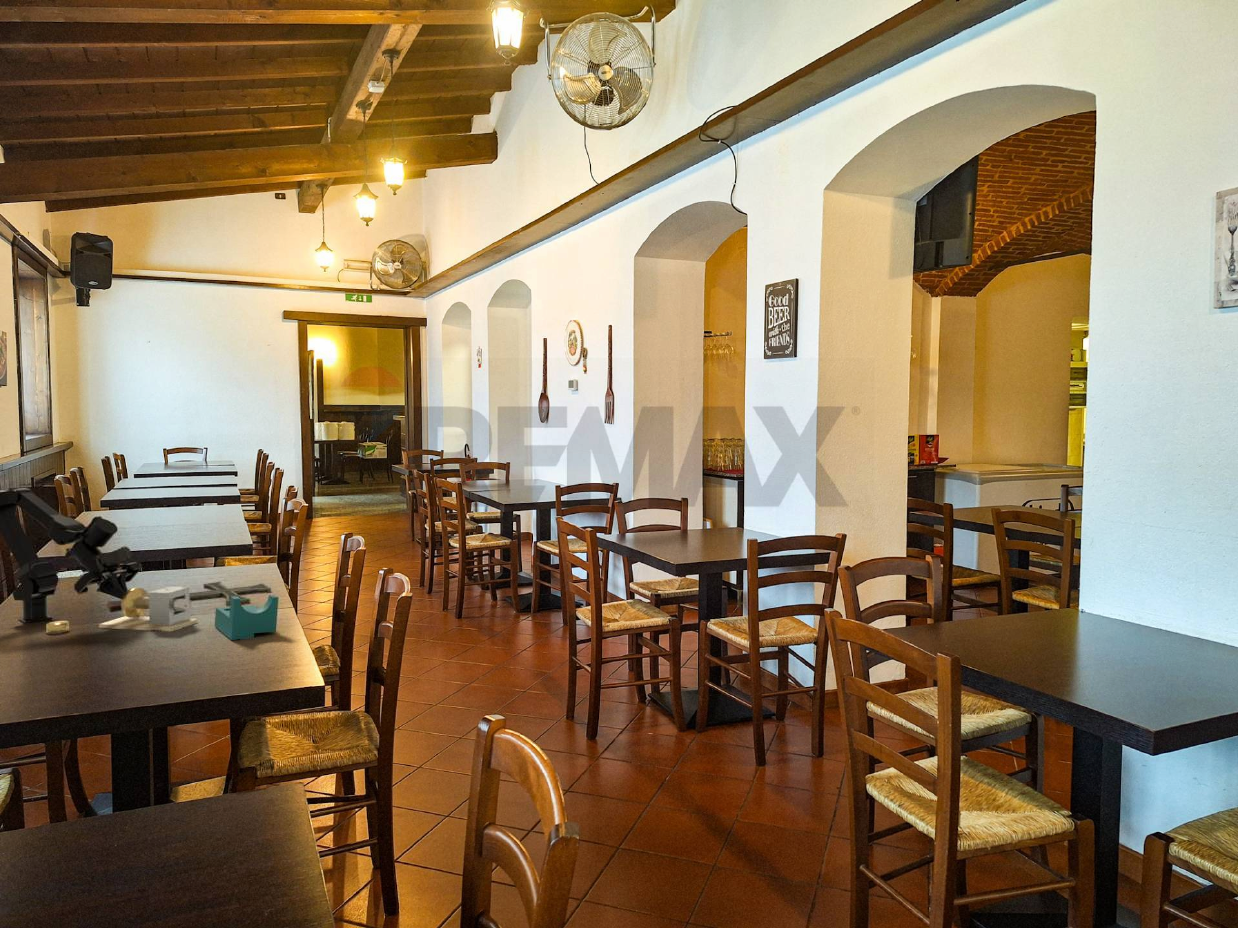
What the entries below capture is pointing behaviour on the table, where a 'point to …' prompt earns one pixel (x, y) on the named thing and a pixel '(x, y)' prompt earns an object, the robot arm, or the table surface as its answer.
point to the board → (142, 624)
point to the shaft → (146, 603)
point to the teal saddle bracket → (246, 618)
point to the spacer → (57, 627)
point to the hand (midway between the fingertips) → (128, 599)
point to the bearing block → (167, 606)
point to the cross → (214, 593)
